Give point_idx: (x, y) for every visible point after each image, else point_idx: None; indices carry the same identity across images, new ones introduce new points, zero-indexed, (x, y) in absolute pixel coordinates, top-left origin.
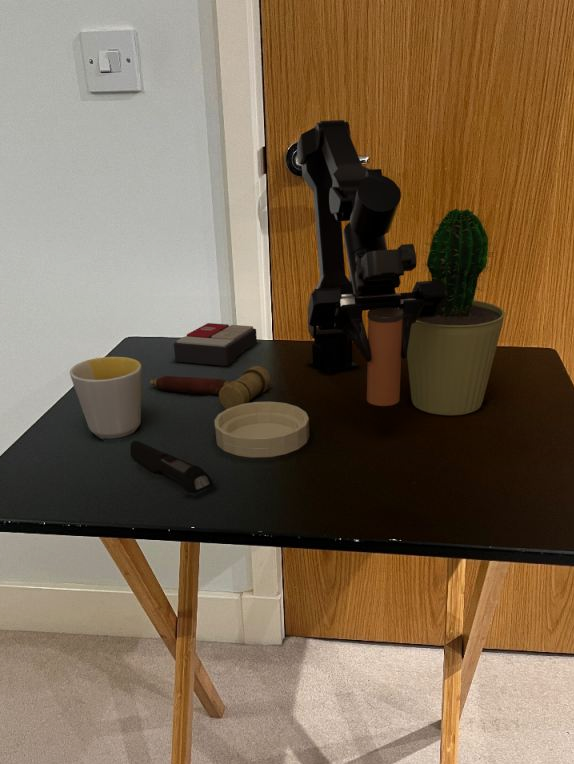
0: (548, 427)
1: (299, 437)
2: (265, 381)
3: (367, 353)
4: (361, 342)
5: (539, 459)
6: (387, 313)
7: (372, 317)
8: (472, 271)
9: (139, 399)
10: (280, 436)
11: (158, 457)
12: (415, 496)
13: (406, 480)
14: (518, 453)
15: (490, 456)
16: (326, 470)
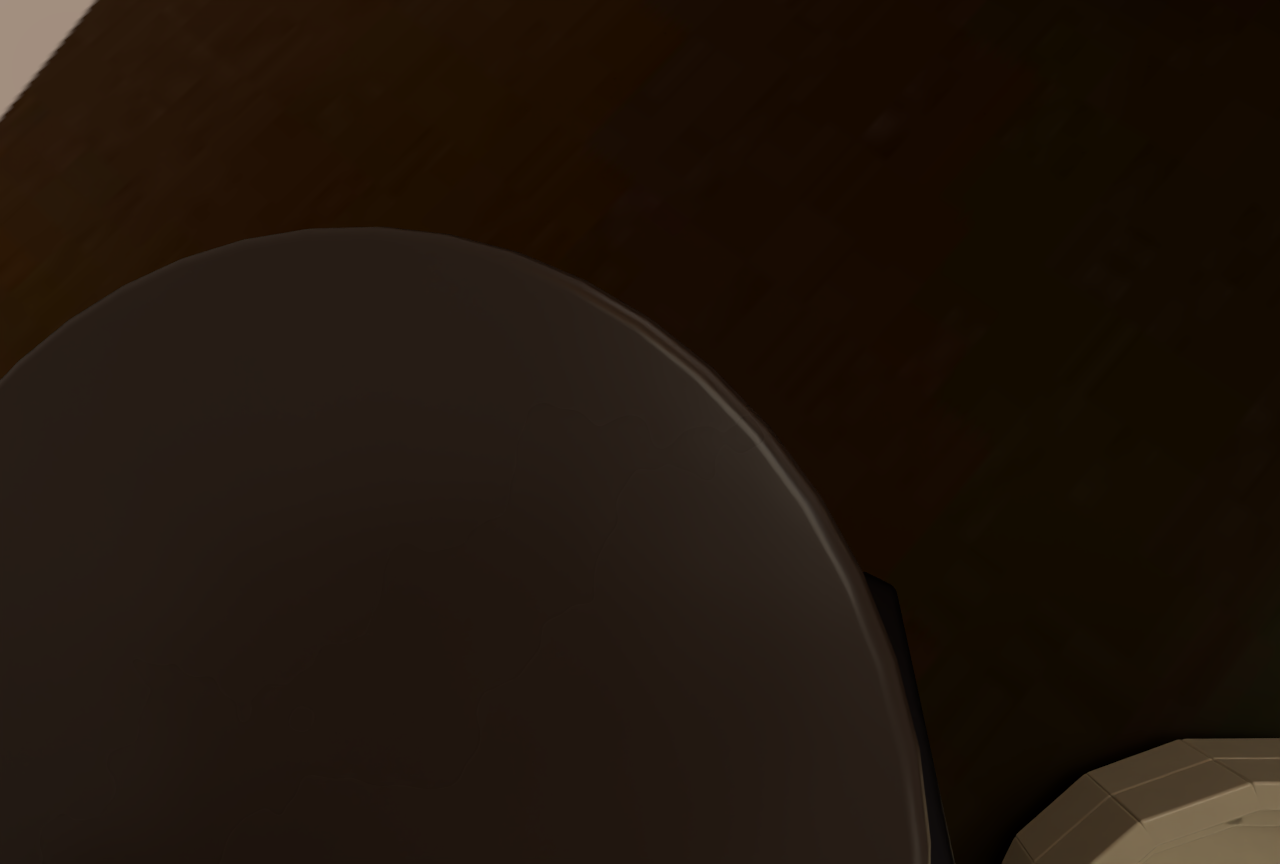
0: (83, 202)
1: (1198, 769)
2: None
3: (899, 624)
4: (935, 803)
5: (331, 10)
6: (353, 644)
7: (925, 798)
8: None
9: None
10: None
11: None
12: (965, 25)
13: (894, 161)
14: (347, 93)
15: (448, 135)
16: (1156, 468)
